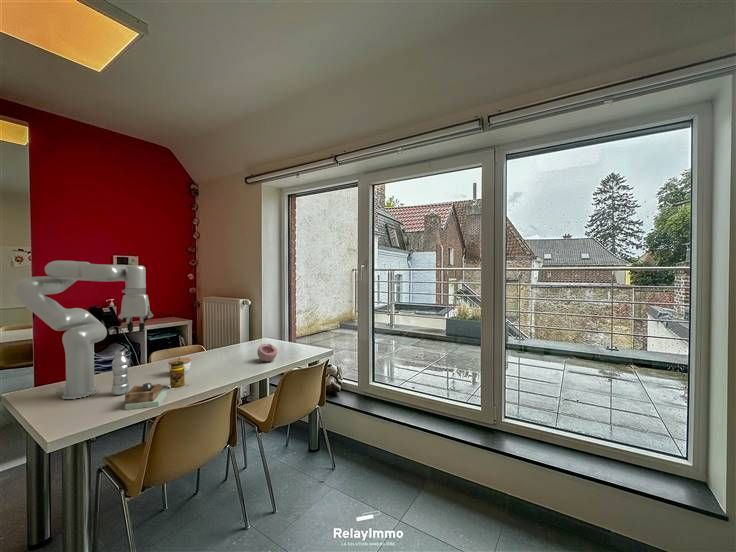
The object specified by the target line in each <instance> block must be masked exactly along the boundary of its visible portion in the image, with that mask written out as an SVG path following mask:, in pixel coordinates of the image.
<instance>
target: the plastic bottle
mask: <svg viewBox="0 0 736 552" xmlns="http://www.w3.org/2000/svg"><path fill="white" fill-rule="evenodd" d="M114 356H115V357H114V358H113V360H112V362H111V369H112V374H113V375H112V377H113V378H112V385H111V393H112V395H115V396H118V395H123V394H126V393H128V392H129V391H130V383H129V378H128V377H129V376H128V372H129V371H128V370H129V369H128V368H129V363H130V361H129V359H128V357H127V356H126V350H124V349H121V350H120V349H119V350H116V351H115V353H114Z"/></svg>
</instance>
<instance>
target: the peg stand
mask: <svg viewBox="0 0 736 552" xmlns="http://www.w3.org/2000/svg"><path fill="white" fill-rule="evenodd" d="M142 385H143V392H147V391H151V385H152V382H146V383H143V384H142ZM167 397H168V391H167V390H165V391H164V390H163V391H161V393H160V394H159V395H158V396H157V397H156V399H155V400H154V401H152V402H142V403H132V404H124V410H125V409H129V410H133V409H132V408H138V409H144V408H143V407H147V408H155V407H156V408H157V407H160V405H161V404H162V403H163V401H164V400H165V399H166V398H167ZM161 402H162V403H161Z"/></svg>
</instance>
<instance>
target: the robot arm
mask: <svg viewBox="0 0 736 552" xmlns="http://www.w3.org/2000/svg"><path fill="white" fill-rule="evenodd" d="M146 269H147V268H146V267H145V266H144V265H136V264H135V265H134V264H133V265H132V264H131V265H127V264H126V265H125V264H103V263H102V264H99V263H98V264H97V263H91V262H89V261H76V260H52V261H51V262H48V263H47V264H46V265H45V266H44V272H45V274H46V275H44V276H29V277H24V278H22V279H21V280H19V281H18V282H17V283H16V285H15V290H14V292H15V293H14V294H15V296H16V298H17V301H19V302H20V304H21V305H22V306H24V307H25V308H26V309H27V310H29V311H30V312H31V313H34V314H35V315H36V316H37V317H38V318H39V319H40V320H42V321H43V322H44V324H46V325H47V326H49V327H50V328H51V329H52V330H54V331H57V332H61V331H62V332H63V331H65V332H64V333H63V334H62V336H61V337H62V338H61V340H62V341H61V342H62V344H63V345H62V346H63V348H64V353H65V386H58V387H56V388H55V393H56V394H57V393H58V394H59V393H63V394H61V399H62V398H63V399H62V400H64V399H73V400H77V399H76V398H80V399H82V398H81V397H84V398H87V397H86V396H88V397H90V396H89V395H91V396H93V395H95V393H96V394H97V393H98V392H99V388H98V386H96V387H95V357H94V355H95V354H94V351H93V349H92V348H91V346H90V345H92V344H96V343H98V342H99V343H100V342H101V341H104V339H106V337H107V335H108V330H107V328H106V326H105V325H104V324H103V323H102V322H101V321H100V320H99V319H98V318H97V317H95V316H94V315H93V314H92V313H91V312H89V311H88V310H86V309H83V308H82V307H81V308H80V307H72V308H65V307H63V305H61V304H60V303H59V302H58V301H56V300H54V299H53V298H51V297H48V296H46V295H57V294H60V293H62V292H64V291H66V290H67V289H68V288H69V287H71V286H72V285H73V284H74V283H76V282H77V281H84V282H85V281H86V282H87V281H89V282H125V288H124V289H121V292H122V293H124V295H123V296H122V299H121V309H120V313H119V314H118V316H117V317H118V319H120V320H122V321H124V323H126V325H127V327H126V328H127V331H128V333H132V332H134V323H133V318H139V320H140V321H139V324H138V325H139V326H138V328H139V330H138V331H139V333H142V332H144V330H145V327H146V326H145V323H146V322H147V321H148V320H149V319H151V318H153V317H154V314H153V313H152V311H151V310H150V309H151V308H150V300H149V295H148V294H146V293H147V292H146V291H147V283H146V281H147V280H146V276H147V274H146ZM92 394H93V395H92Z"/></svg>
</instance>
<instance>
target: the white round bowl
mask: <svg viewBox="0 0 736 552" xmlns="http://www.w3.org/2000/svg"><path fill="white" fill-rule="evenodd" d="M177 361H182V362H183V365H184V366H183V367H184V376H185V375H187V373H188V372H189V371H190V369H191V367H192V366H191V365H192V359H191V358H190V357H182V356H179V357H177V358H173V359H170V360H169V361H168V369H169V371H170V369H171V363H173V362H177Z"/></svg>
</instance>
